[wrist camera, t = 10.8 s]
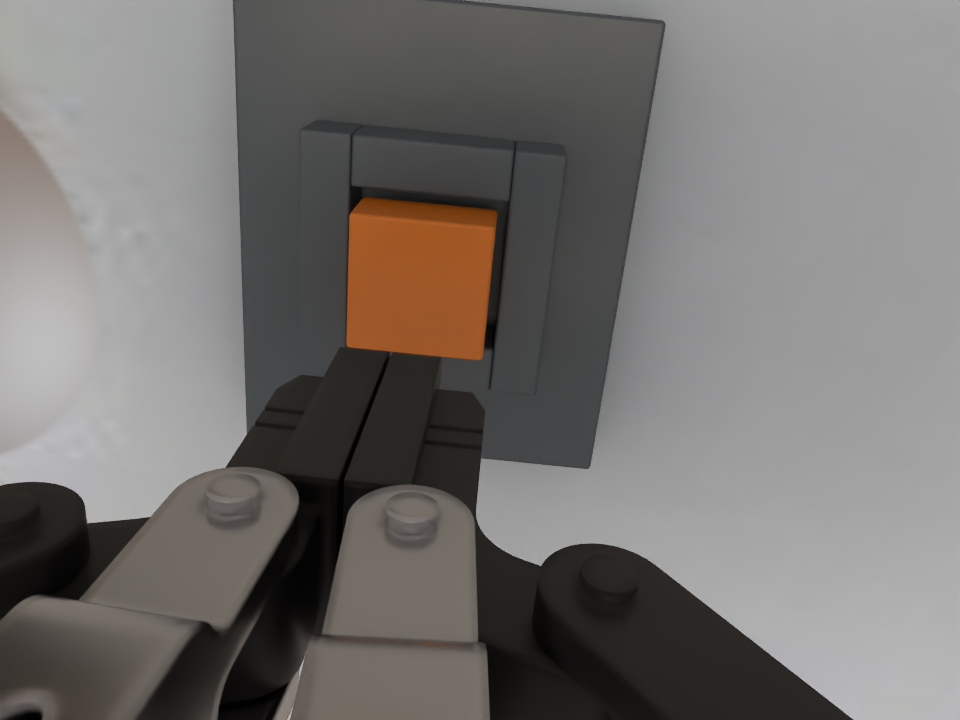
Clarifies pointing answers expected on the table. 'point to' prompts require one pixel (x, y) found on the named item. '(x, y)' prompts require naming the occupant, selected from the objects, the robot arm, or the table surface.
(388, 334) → the key
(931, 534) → the table surface
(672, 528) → the table surface
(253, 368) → the keypad
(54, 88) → the table surface
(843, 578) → the table surface
